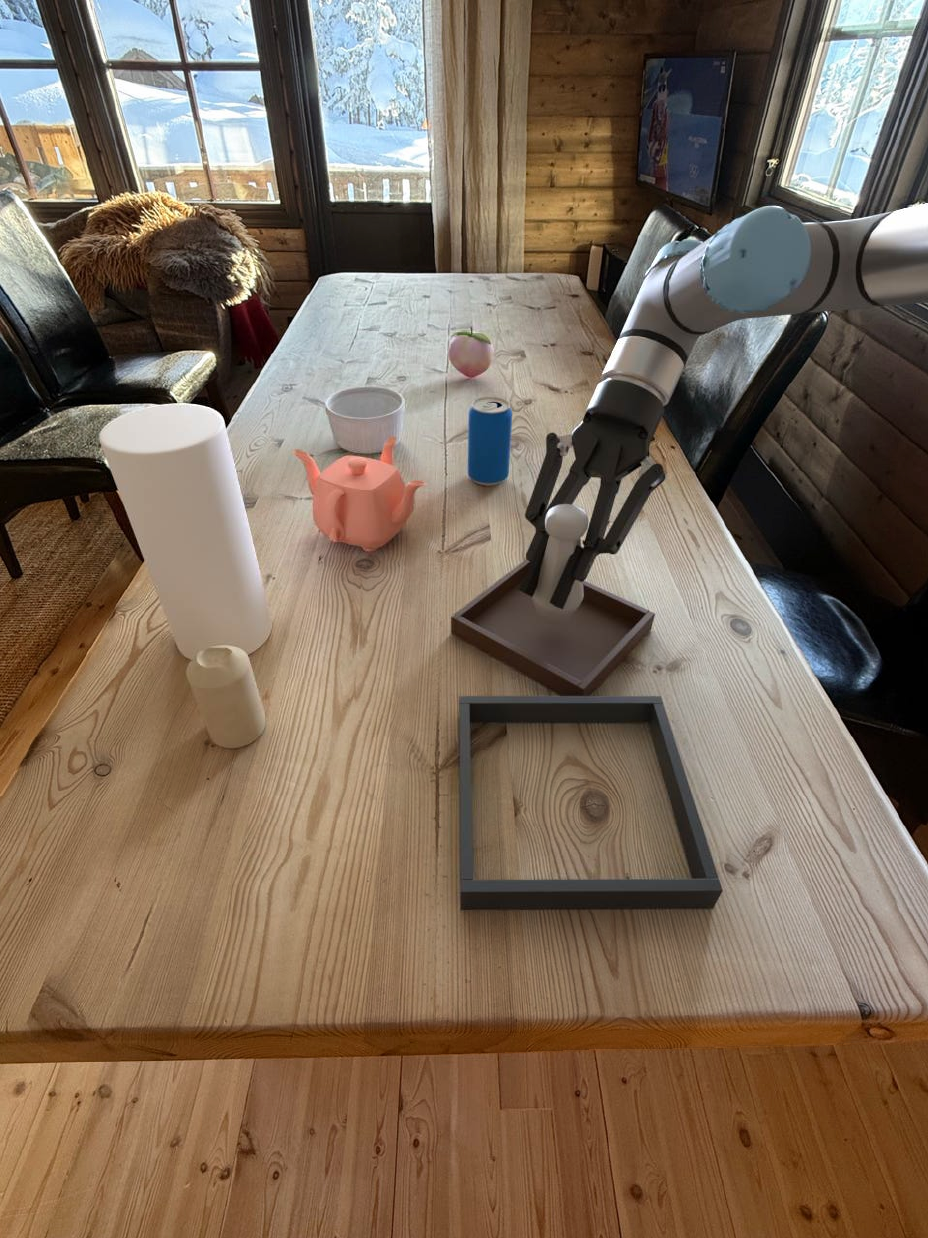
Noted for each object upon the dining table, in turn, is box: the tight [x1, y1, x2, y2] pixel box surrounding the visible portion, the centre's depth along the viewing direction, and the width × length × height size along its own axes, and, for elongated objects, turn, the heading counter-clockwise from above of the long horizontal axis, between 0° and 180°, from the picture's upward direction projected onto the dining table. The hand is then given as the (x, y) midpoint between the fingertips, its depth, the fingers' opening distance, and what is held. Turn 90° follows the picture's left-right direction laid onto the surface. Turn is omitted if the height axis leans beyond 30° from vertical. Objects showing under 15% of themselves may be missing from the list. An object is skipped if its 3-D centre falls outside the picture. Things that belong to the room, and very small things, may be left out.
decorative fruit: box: [447, 326, 494, 379], centre depth 133 cm, size 9×8×10 cm
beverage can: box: [467, 396, 513, 486], centre depth 100 cm, size 6×6×12 cm
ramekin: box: [324, 385, 406, 455], centre depth 111 cm, size 13×13×7 cm
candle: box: [185, 645, 267, 749], centre depth 62 cm, size 6×6×10 cm
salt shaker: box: [532, 504, 589, 621], centre depth 70 cm, size 6×6×13 cm
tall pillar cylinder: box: [98, 403, 273, 661], centre depth 68 cm, size 11×11×25 cm
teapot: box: [293, 437, 427, 552], centre depth 88 cm, size 14×14×11 cm
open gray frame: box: [458, 695, 724, 911], centre depth 58 cm, size 20×20×3 cm
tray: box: [450, 558, 656, 696], centre depth 76 cm, size 18×16×3 cm
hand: (540, 599), depth 69 cm, fingers closed on salt shaker, 3 cm apart
